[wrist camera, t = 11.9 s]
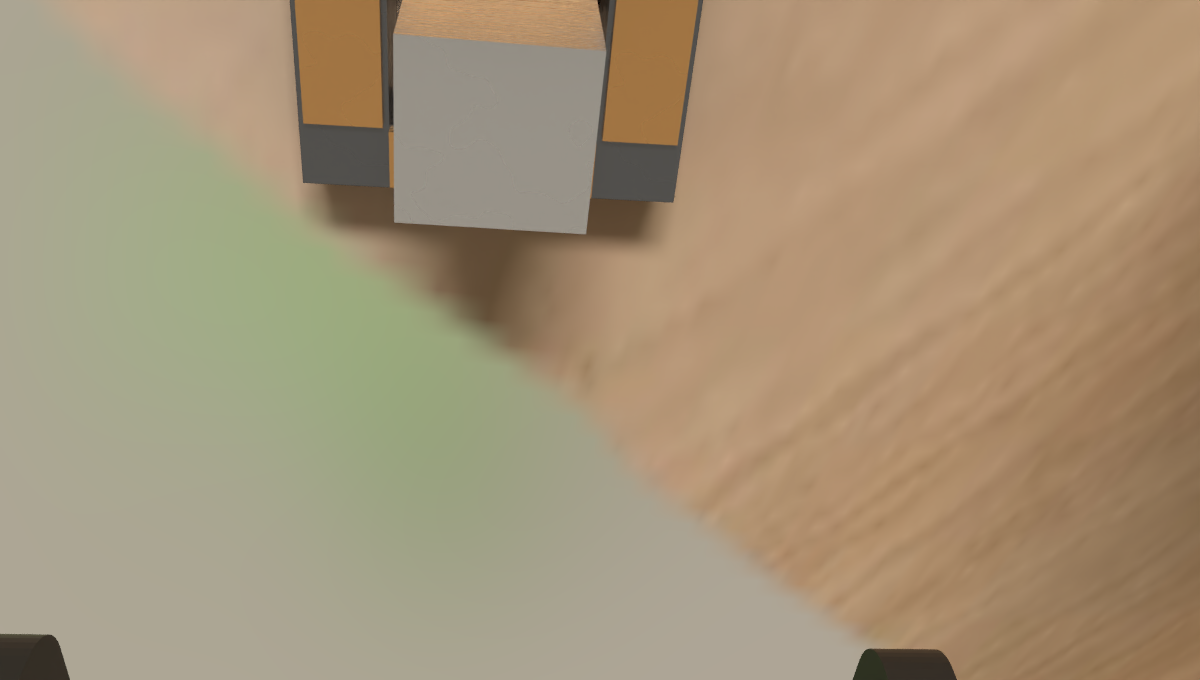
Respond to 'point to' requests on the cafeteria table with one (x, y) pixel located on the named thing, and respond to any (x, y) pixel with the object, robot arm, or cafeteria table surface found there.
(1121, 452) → the cafeteria table surface
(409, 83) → the steel block
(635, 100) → the slotted rack
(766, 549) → the cafeteria table surface
